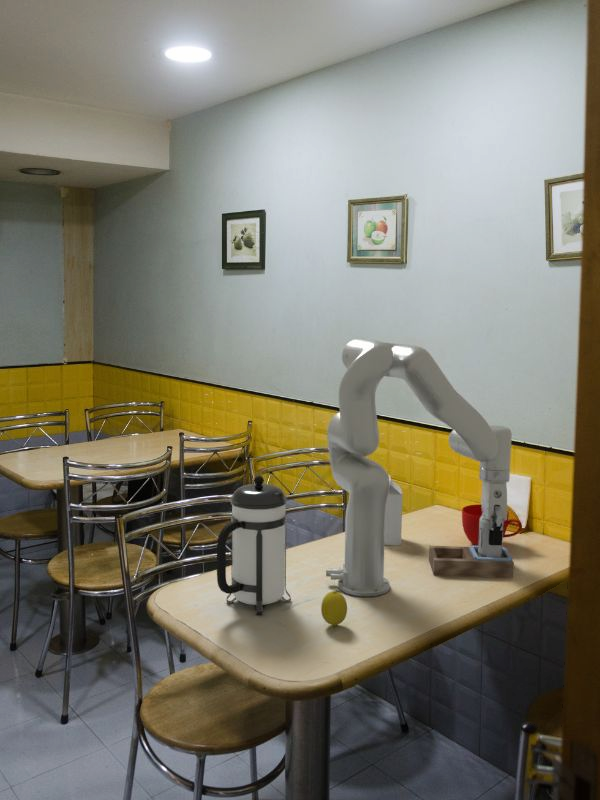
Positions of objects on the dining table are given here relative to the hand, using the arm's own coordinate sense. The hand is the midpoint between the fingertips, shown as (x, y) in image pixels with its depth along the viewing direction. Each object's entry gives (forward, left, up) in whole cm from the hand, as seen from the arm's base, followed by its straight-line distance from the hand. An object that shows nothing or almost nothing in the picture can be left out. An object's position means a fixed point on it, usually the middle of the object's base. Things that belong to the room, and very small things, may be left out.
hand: (491, 538), depth 191 cm
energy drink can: (0, 0, -8) cm, 9 cm away
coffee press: (-58, -26, -8) cm, 65 cm away
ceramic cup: (+4, +19, -8) cm, 21 cm away
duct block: (-5, 0, -8) cm, 10 cm away
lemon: (-40, -36, -8) cm, 55 cm away
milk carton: (-25, +20, -8) cm, 33 cm away
